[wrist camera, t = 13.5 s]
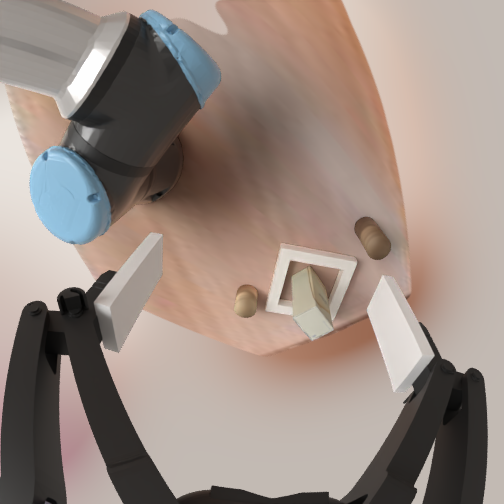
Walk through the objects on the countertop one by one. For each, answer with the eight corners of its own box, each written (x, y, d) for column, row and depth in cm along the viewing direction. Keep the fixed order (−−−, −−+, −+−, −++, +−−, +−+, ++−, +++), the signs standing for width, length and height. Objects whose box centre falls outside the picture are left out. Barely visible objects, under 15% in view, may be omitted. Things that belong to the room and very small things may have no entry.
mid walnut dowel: (351, 235, 49) (363, 257, 42) (358, 214, 47) (372, 234, 40) (371, 239, 49) (385, 261, 42) (378, 219, 47) (394, 239, 40)
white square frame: (265, 304, 57) (265, 311, 55) (281, 242, 51) (281, 247, 49) (331, 314, 57) (333, 321, 56) (354, 256, 51) (357, 262, 49)
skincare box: (325, 287, 54) (336, 330, 44) (306, 298, 56) (312, 342, 45) (309, 264, 52) (317, 305, 42) (289, 275, 54) (291, 319, 43)
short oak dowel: (235, 299, 57) (232, 315, 53) (238, 283, 55) (235, 298, 51) (255, 302, 57) (254, 319, 53) (259, 286, 55) (258, 302, 51)
